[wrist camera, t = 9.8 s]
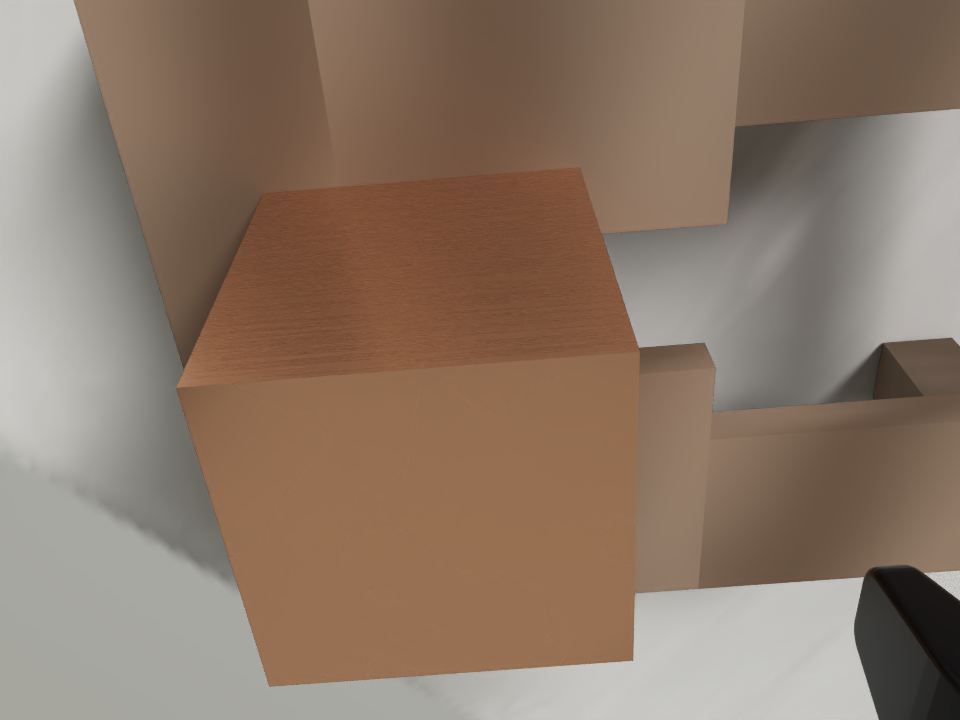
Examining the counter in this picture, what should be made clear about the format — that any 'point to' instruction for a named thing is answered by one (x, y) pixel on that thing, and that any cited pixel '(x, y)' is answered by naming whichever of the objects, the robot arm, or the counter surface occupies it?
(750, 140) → the counter surface
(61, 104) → the counter surface
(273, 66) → the four-legged frame stand
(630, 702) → the counter surface
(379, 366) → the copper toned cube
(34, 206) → the counter surface
